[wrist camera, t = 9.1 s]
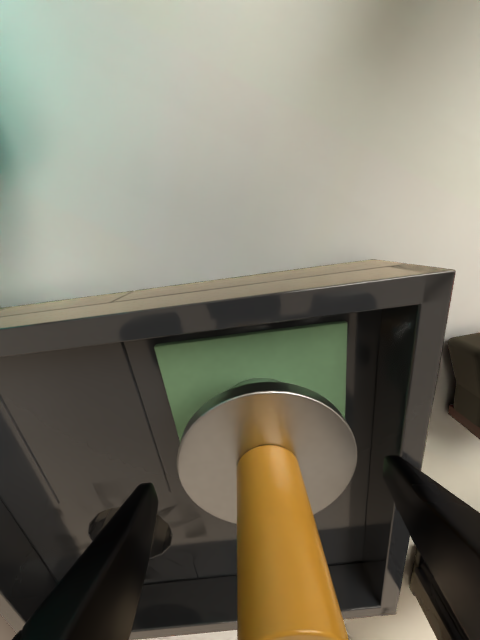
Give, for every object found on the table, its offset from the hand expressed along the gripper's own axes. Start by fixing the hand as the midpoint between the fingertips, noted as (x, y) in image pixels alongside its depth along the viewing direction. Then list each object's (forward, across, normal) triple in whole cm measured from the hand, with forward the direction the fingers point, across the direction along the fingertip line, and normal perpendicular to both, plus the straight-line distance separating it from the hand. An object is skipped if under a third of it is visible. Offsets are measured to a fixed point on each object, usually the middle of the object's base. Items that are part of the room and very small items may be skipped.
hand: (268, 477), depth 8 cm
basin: (+6, +4, +4) cm, 8 cm away
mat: (+3, 0, 0) cm, 3 cm away
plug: (+4, 0, 0) cm, 4 cm away
